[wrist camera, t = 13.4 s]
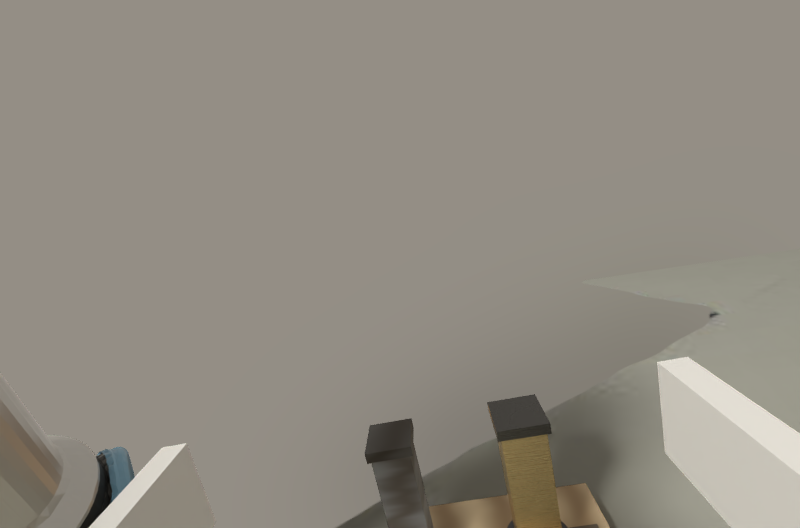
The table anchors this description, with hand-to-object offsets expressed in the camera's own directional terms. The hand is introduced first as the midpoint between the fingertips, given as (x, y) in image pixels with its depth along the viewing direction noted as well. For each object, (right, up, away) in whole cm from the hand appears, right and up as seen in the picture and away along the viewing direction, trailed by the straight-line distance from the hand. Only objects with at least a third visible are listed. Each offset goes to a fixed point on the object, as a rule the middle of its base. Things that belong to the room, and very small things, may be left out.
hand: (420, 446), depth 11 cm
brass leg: (+13, -22, +29) cm, 38 cm away
